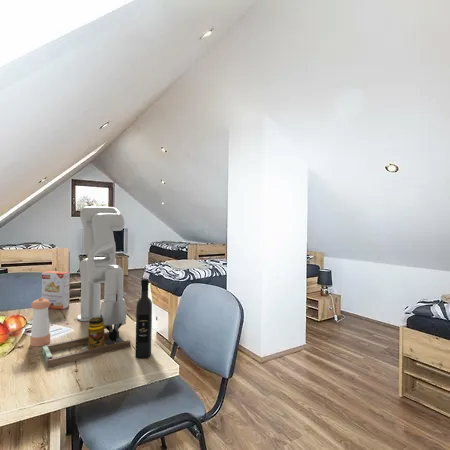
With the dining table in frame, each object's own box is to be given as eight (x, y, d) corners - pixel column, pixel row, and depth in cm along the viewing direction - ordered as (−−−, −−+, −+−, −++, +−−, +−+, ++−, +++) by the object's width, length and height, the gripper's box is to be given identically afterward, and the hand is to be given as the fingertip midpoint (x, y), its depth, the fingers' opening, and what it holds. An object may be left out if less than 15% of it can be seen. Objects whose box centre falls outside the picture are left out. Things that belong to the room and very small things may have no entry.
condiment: (96, 353, 122) (96, 323, 121) (80, 349, 125) (79, 320, 124) (109, 345, 129) (109, 317, 128) (93, 342, 132) (93, 314, 131)
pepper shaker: (38, 347, 126) (39, 300, 125) (26, 344, 128) (26, 298, 128) (54, 341, 133) (54, 296, 132) (41, 338, 135) (42, 294, 135)
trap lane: (41, 352, 122) (41, 344, 121) (117, 335, 140) (117, 329, 140) (48, 367, 110) (48, 359, 110) (130, 347, 129) (130, 339, 128)
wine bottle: (150, 358, 119) (151, 280, 118) (135, 359, 118) (136, 280, 117) (151, 352, 124) (152, 277, 124) (136, 352, 123) (138, 277, 123)
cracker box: (40, 308, 178) (41, 272, 178) (48, 305, 184) (48, 270, 184) (62, 310, 176) (63, 273, 175) (69, 307, 182) (70, 271, 181)
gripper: (127, 292, 139) (126, 333, 139) (92, 297, 129) (92, 341, 130) (134, 296, 133) (133, 338, 133) (98, 301, 123) (97, 347, 124)
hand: (113, 339), depth 131 cm, fingers closed
